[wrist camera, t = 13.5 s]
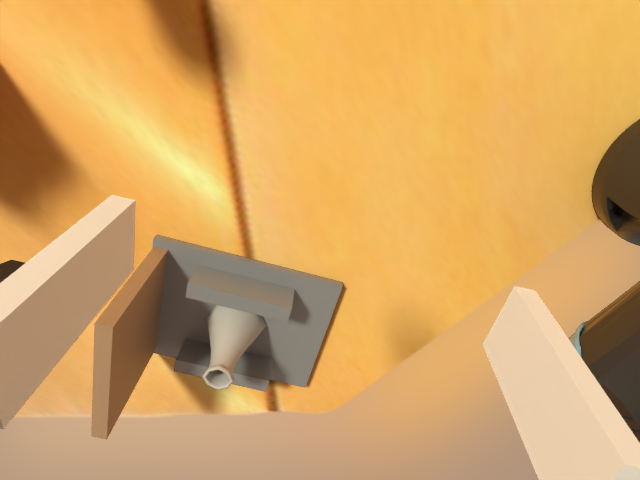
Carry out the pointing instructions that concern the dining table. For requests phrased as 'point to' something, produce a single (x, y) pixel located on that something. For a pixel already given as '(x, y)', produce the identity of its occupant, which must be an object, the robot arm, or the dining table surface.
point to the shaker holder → (191, 321)
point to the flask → (229, 342)
